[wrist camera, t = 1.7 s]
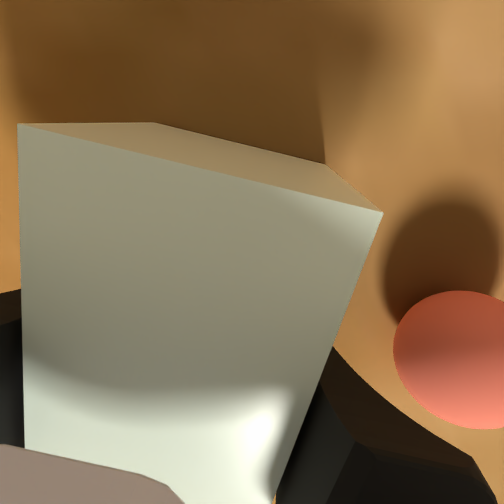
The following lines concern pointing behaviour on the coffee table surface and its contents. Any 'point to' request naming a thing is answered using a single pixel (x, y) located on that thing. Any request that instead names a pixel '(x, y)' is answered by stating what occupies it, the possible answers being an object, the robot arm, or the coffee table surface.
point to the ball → (454, 357)
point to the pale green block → (179, 300)
